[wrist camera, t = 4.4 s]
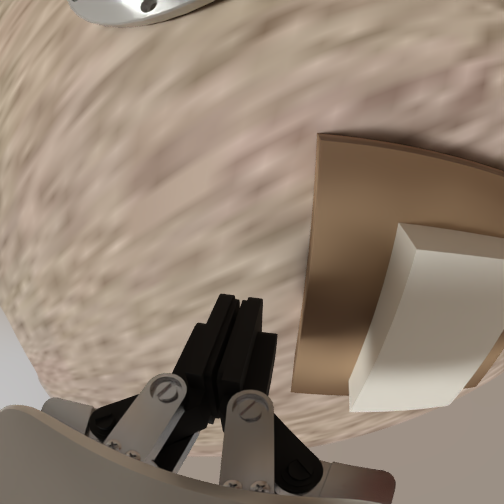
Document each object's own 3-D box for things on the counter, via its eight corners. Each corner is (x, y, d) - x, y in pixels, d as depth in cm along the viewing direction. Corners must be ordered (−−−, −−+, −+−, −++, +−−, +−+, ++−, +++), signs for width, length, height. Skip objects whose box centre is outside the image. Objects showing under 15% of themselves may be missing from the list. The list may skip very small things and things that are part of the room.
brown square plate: (317, 133, 11) (320, 140, 8) (534, 182, 9) (566, 202, 6) (294, 354, 17) (290, 392, 14) (464, 355, 15) (475, 386, 12)
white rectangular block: (398, 222, 9) (416, 249, 7) (511, 239, 8) (535, 263, 6) (348, 380, 13) (349, 411, 11) (441, 378, 12) (448, 405, 10)
